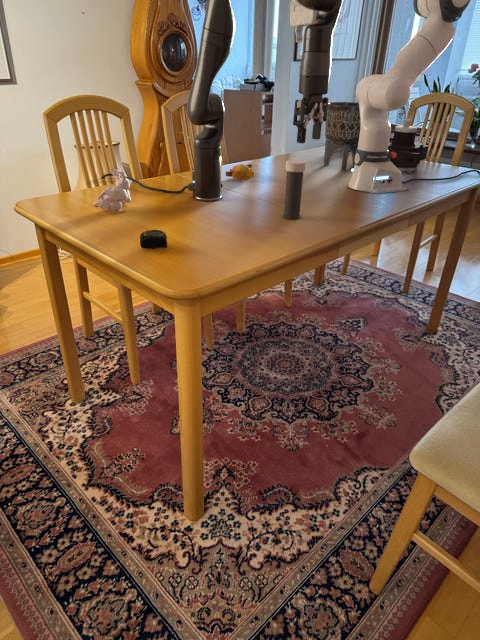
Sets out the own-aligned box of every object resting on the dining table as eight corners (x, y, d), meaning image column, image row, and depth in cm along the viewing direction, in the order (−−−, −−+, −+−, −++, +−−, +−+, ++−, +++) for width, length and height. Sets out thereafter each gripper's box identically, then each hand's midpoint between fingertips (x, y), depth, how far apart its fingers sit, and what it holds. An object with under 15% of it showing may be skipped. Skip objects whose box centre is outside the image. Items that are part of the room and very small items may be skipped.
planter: (313, 167, 208) (319, 103, 195) (331, 160, 222) (338, 101, 209) (353, 173, 199) (362, 107, 185) (369, 166, 213) (379, 104, 199)
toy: (223, 172, 179) (229, 164, 192) (228, 188, 182) (234, 178, 195) (249, 163, 176) (253, 155, 188) (254, 179, 179) (258, 170, 191)
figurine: (140, 206, 149) (137, 167, 143) (105, 217, 138) (99, 175, 132) (123, 202, 153) (119, 163, 146) (87, 213, 142) (81, 171, 136)
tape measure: (140, 252, 115) (139, 238, 113) (141, 242, 120) (140, 229, 119) (167, 251, 116) (166, 237, 114) (167, 241, 121) (166, 228, 120)
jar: (300, 219, 141) (305, 164, 133) (285, 219, 141) (289, 164, 132) (297, 214, 145) (301, 161, 137) (282, 214, 145) (285, 161, 137)
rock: (345, 148, 251) (347, 136, 248) (358, 151, 246) (360, 138, 242) (330, 151, 244) (331, 138, 240) (343, 154, 238) (344, 141, 235)
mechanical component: (374, 119, 196) (402, 114, 215) (366, 169, 206) (394, 160, 226) (423, 124, 184) (449, 118, 203) (412, 177, 194) (437, 167, 214)
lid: (307, 172, 134) (307, 163, 132) (287, 172, 133) (288, 163, 132) (302, 167, 139) (303, 159, 137) (283, 167, 138) (284, 159, 137)
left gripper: (314, 72, 121) (308, 136, 129) (287, 72, 111) (283, 142, 119) (340, 73, 118) (332, 139, 126) (314, 74, 107) (308, 146, 116)
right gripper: (331, -14, 132) (325, 41, 139) (306, -6, 149) (302, 43, 156) (310, -15, 131) (306, 41, 138) (287, -7, 148) (284, 42, 155)
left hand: (308, 141), depth 123 cm, fingers open, 8 cm apart
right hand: (304, 42), depth 147 cm, fingers open, 8 cm apart
